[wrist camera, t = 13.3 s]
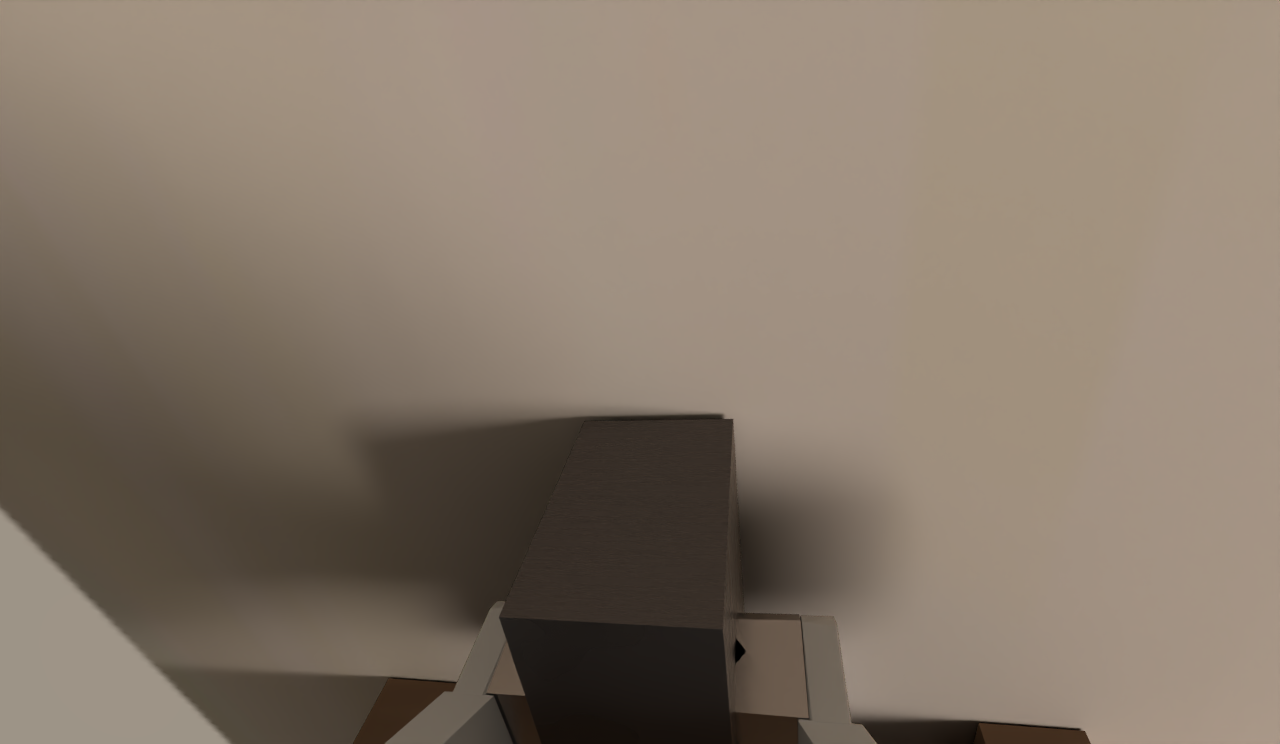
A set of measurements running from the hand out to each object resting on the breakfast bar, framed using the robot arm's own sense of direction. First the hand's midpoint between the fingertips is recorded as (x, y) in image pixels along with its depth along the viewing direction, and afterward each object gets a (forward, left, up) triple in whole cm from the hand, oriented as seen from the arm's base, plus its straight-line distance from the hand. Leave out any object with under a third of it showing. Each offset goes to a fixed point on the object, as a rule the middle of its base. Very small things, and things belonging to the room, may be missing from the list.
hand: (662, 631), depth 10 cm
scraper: (+5, +4, -2) cm, 6 cm away
